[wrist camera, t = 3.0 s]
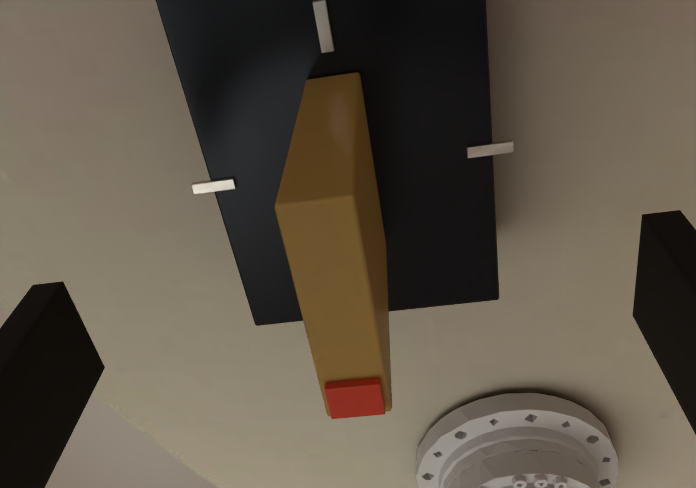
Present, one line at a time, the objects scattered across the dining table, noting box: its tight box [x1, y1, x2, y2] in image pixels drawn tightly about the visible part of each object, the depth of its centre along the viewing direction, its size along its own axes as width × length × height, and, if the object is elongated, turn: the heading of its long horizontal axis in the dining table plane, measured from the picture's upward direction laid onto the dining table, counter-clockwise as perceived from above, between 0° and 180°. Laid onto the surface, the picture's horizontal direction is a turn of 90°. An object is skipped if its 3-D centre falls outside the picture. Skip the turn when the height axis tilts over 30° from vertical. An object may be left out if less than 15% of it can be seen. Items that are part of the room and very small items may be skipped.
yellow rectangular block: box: [275, 72, 392, 419], centre depth 17 cm, size 6×2×8 cm, turn 9°
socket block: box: [156, 0, 514, 326], centre depth 22 cm, size 12×10×4 cm
